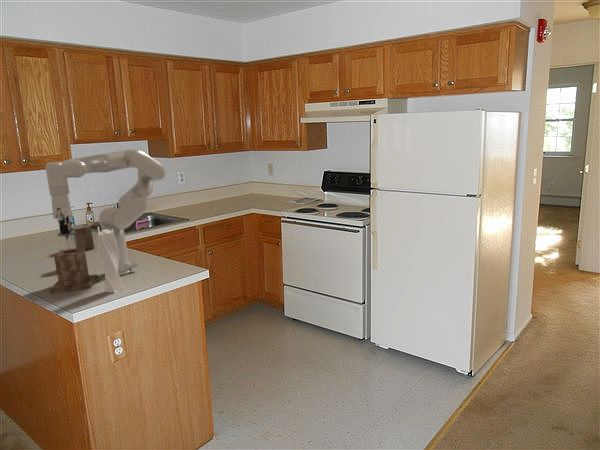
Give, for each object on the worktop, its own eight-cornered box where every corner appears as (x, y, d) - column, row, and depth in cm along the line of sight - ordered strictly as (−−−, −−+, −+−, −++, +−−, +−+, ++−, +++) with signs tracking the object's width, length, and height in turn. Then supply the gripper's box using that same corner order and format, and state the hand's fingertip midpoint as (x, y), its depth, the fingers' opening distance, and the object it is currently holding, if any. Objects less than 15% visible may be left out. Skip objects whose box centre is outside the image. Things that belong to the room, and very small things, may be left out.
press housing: (97, 277, 215) (92, 245, 211) (90, 288, 200) (84, 254, 197) (60, 281, 212) (55, 249, 208) (50, 292, 197) (44, 258, 194)
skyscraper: (100, 292, 194) (90, 228, 188) (112, 286, 201) (103, 224, 195) (114, 294, 192) (105, 229, 185) (127, 287, 198) (118, 224, 192)
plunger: (81, 260, 208) (75, 221, 204) (77, 264, 201) (71, 224, 197) (65, 261, 207) (58, 222, 203) (60, 266, 200) (53, 226, 196)
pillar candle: (97, 248, 269) (93, 223, 266) (81, 252, 261) (77, 226, 258) (88, 246, 275) (84, 222, 272) (73, 250, 267) (68, 225, 264)
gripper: (55, 189, 204) (62, 229, 208) (43, 194, 188) (51, 237, 192) (73, 188, 205) (80, 227, 210) (63, 193, 190) (70, 236, 194)
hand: (66, 232), depth 201 cm, fingers closed on plunger, 3 cm apart
